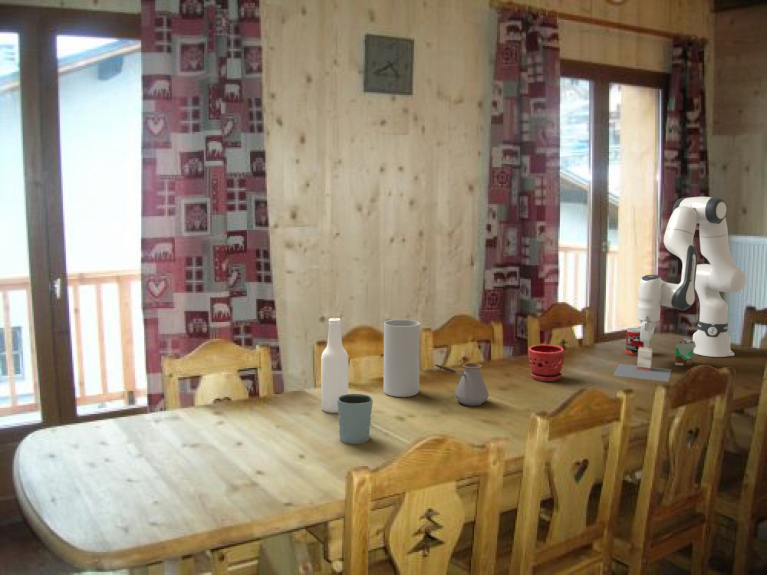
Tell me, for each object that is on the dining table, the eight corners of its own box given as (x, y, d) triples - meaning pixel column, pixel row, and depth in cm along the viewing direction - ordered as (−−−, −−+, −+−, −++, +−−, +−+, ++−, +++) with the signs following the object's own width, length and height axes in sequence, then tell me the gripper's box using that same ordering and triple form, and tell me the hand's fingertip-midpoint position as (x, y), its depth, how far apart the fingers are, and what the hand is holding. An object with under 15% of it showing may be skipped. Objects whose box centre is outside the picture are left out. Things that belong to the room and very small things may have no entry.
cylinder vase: (378, 389, 259) (378, 320, 255) (410, 386, 263) (411, 318, 259) (391, 399, 247) (391, 327, 243) (424, 395, 251) (425, 325, 248)
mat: (619, 364, 297) (619, 363, 297) (671, 370, 288) (671, 369, 288) (613, 376, 279) (613, 375, 279) (668, 382, 270) (668, 381, 270)
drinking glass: (330, 439, 208) (330, 399, 207) (353, 429, 216) (353, 391, 215) (357, 447, 202) (357, 405, 200) (379, 437, 210) (379, 397, 208)
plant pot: (534, 372, 283) (535, 342, 282) (567, 377, 277) (568, 346, 275) (522, 380, 272) (523, 349, 271) (556, 385, 266) (558, 353, 264)
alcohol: (315, 409, 236) (315, 318, 231) (336, 403, 242) (336, 315, 237) (333, 415, 229) (333, 322, 225) (353, 409, 235) (354, 319, 231)
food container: (689, 369, 290) (691, 345, 288) (674, 367, 293) (675, 343, 292) (697, 363, 299) (699, 340, 298) (682, 361, 303) (684, 338, 302)
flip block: (638, 366, 292) (639, 347, 291) (651, 368, 290) (652, 348, 289) (636, 369, 288) (638, 350, 287) (650, 371, 286) (651, 351, 284)
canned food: (621, 353, 317) (623, 328, 315) (635, 351, 320) (637, 327, 318) (634, 357, 310) (635, 331, 308) (648, 355, 313) (650, 330, 311)
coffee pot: (474, 395, 252) (475, 353, 250) (495, 404, 242) (496, 360, 240) (423, 404, 242) (424, 360, 239) (443, 414, 232) (444, 368, 229)
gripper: (654, 320, 281) (652, 354, 283) (658, 311, 299) (656, 344, 301) (637, 318, 283) (635, 353, 285) (642, 310, 302) (640, 343, 304)
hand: (646, 348), depth 293 cm, fingers closed
